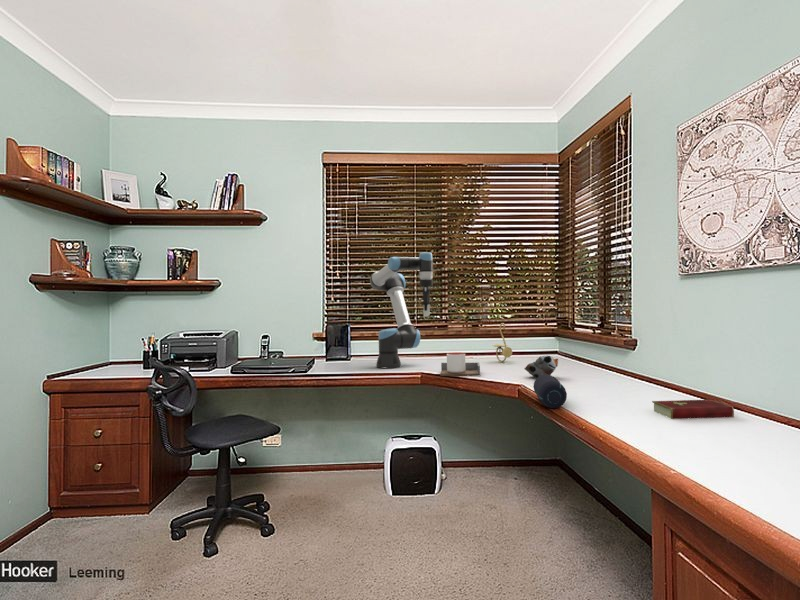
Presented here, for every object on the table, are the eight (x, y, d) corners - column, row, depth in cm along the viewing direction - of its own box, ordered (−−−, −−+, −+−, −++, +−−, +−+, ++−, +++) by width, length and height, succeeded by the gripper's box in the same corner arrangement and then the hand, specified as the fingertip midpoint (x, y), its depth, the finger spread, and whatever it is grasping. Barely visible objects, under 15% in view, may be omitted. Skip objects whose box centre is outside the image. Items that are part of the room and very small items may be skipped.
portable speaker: (569, 410, 182) (568, 383, 182) (540, 410, 183) (540, 383, 183) (557, 397, 207) (556, 372, 207) (532, 396, 208) (531, 372, 208)
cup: (462, 370, 280) (461, 352, 280) (468, 372, 270) (467, 354, 270) (444, 371, 278) (444, 353, 278) (450, 373, 268) (449, 355, 268)
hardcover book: (734, 418, 167) (733, 406, 167) (671, 420, 166) (671, 407, 166) (710, 410, 179) (710, 398, 179) (652, 412, 178) (652, 400, 178)
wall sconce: (514, 362, 316) (513, 323, 316) (501, 363, 313) (500, 323, 313) (502, 360, 329) (502, 322, 329) (490, 361, 326) (489, 322, 326)
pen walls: (441, 369, 284) (441, 362, 284) (479, 369, 281) (479, 362, 281) (440, 373, 269) (440, 366, 269) (480, 373, 266) (479, 366, 266)
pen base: (441, 371, 284) (441, 369, 284) (479, 371, 281) (479, 369, 281) (440, 376, 269) (440, 373, 269) (480, 375, 266) (480, 373, 266)
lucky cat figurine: (540, 374, 267) (552, 351, 264) (554, 386, 257) (567, 362, 254) (519, 368, 261) (532, 345, 257) (532, 380, 250) (546, 356, 247)
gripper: (431, 278, 279) (432, 316, 279) (433, 279, 304) (434, 314, 304) (417, 278, 280) (418, 317, 280) (421, 279, 304) (421, 315, 305)
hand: (426, 316), depth 292 cm, fingers open, 13 cm apart
